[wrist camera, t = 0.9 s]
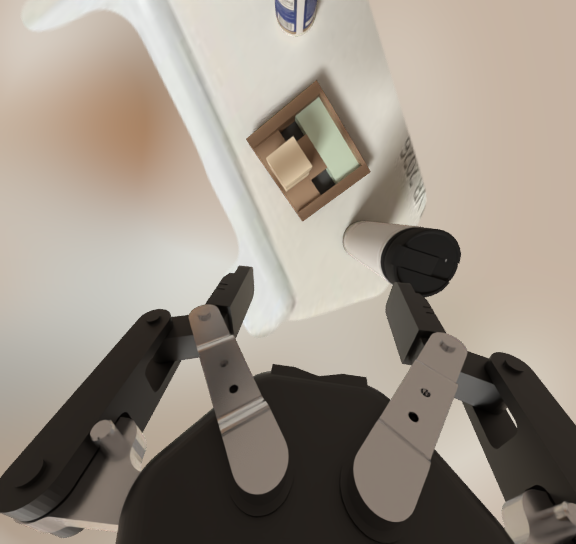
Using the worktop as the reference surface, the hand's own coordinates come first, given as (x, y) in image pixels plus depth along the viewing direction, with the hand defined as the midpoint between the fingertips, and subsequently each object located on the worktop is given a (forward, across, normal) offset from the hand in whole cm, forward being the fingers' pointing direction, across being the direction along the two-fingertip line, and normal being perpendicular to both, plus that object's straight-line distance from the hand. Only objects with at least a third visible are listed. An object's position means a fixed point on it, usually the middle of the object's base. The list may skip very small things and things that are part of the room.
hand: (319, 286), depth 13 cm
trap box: (+29, +3, -3) cm, 29 cm away
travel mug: (+26, -7, +8) cm, 28 cm away
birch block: (+26, +5, -2) cm, 26 cm away
